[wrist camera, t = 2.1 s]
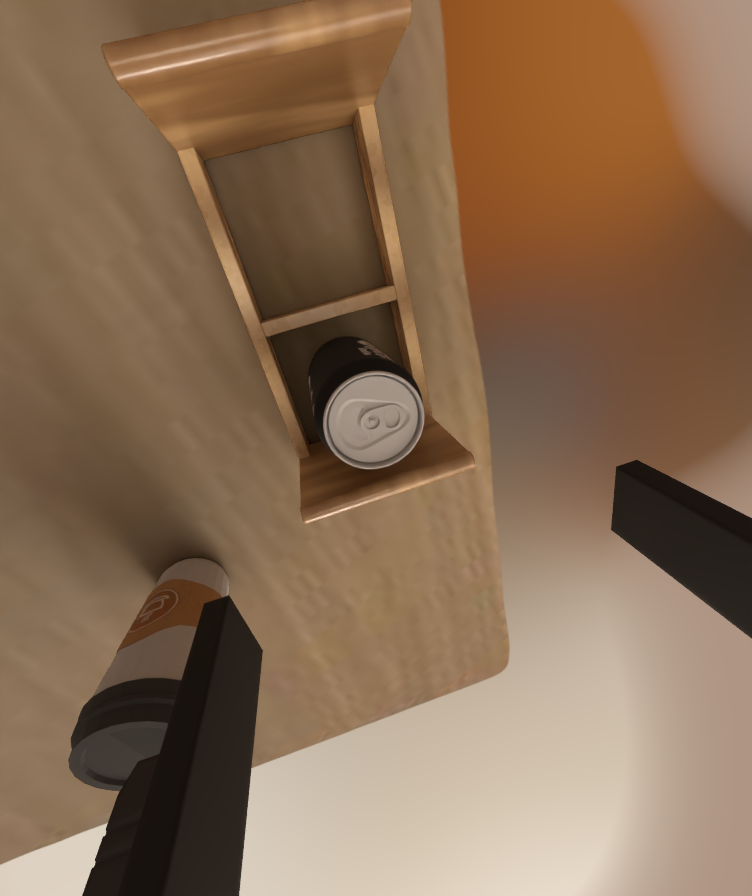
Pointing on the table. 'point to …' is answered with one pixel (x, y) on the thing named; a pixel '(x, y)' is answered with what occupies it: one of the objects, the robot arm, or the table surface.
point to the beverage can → (364, 404)
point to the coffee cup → (144, 677)
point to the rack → (275, 120)
